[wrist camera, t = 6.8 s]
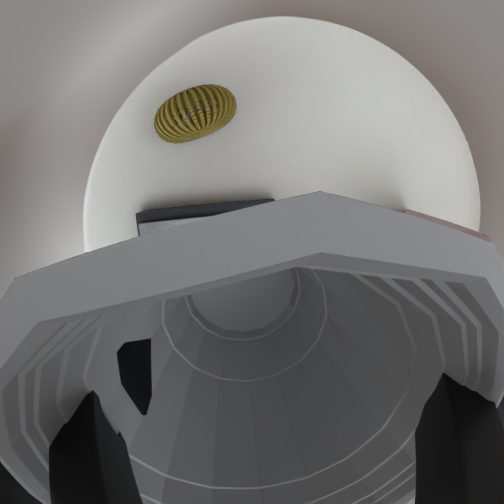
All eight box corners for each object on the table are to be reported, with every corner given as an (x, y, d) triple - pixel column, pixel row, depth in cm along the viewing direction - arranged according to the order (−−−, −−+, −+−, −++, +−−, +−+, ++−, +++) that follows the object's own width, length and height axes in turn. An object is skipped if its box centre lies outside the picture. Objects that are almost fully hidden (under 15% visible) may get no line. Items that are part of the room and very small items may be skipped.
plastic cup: (364, 320, 15) (479, 475, 4) (203, 385, 16) (194, 564, 4) (303, 140, 12) (561, 75, 1) (107, 234, 13) (-81, 378, 1)
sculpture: (172, 152, 28) (152, 146, 20) (160, 121, 26) (137, 105, 19) (241, 124, 27) (244, 108, 20) (228, 93, 26) (226, 67, 18)
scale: (141, 211, 29) (132, 214, 26) (273, 198, 30) (277, 201, 27) (161, 319, 33) (156, 331, 30) (277, 312, 34) (281, 323, 31)
